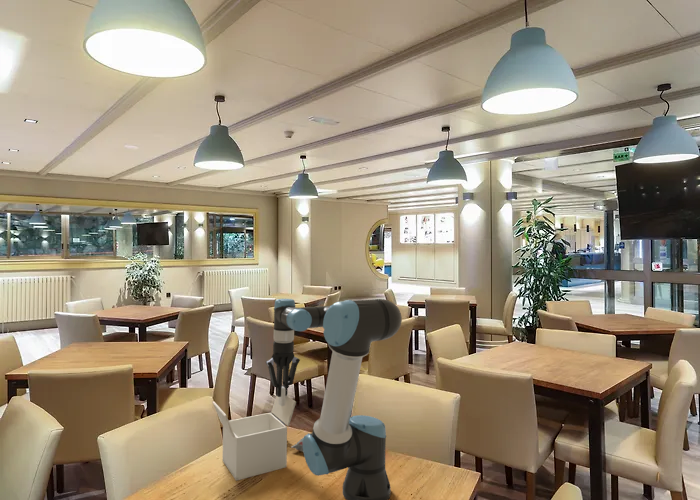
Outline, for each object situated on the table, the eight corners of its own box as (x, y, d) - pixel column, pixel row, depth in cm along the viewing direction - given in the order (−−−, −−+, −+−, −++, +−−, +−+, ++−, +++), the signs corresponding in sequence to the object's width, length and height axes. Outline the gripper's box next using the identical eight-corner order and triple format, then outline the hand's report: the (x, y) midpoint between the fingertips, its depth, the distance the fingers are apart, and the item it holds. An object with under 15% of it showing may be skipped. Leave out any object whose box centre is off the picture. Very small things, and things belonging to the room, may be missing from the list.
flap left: (226, 414, 142) (224, 415, 142) (235, 437, 144) (233, 438, 144) (213, 401, 155) (212, 401, 155) (222, 421, 157) (220, 422, 157)
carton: (286, 466, 153) (287, 427, 153) (236, 480, 144) (236, 438, 144) (269, 449, 167) (270, 412, 167) (222, 460, 157) (223, 421, 157)
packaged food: (316, 460, 159) (316, 446, 159) (290, 452, 165) (290, 439, 165) (329, 451, 166) (329, 438, 166) (304, 444, 172) (304, 431, 172)
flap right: (287, 425, 154) (288, 425, 154) (294, 401, 155) (296, 401, 156) (271, 411, 167) (272, 412, 167) (278, 389, 168) (279, 390, 168)
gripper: (295, 337, 168) (293, 399, 168) (263, 340, 161) (261, 404, 161) (303, 341, 161) (302, 405, 161) (270, 344, 154) (268, 411, 154)
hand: (281, 404), depth 161 cm, fingers closed
